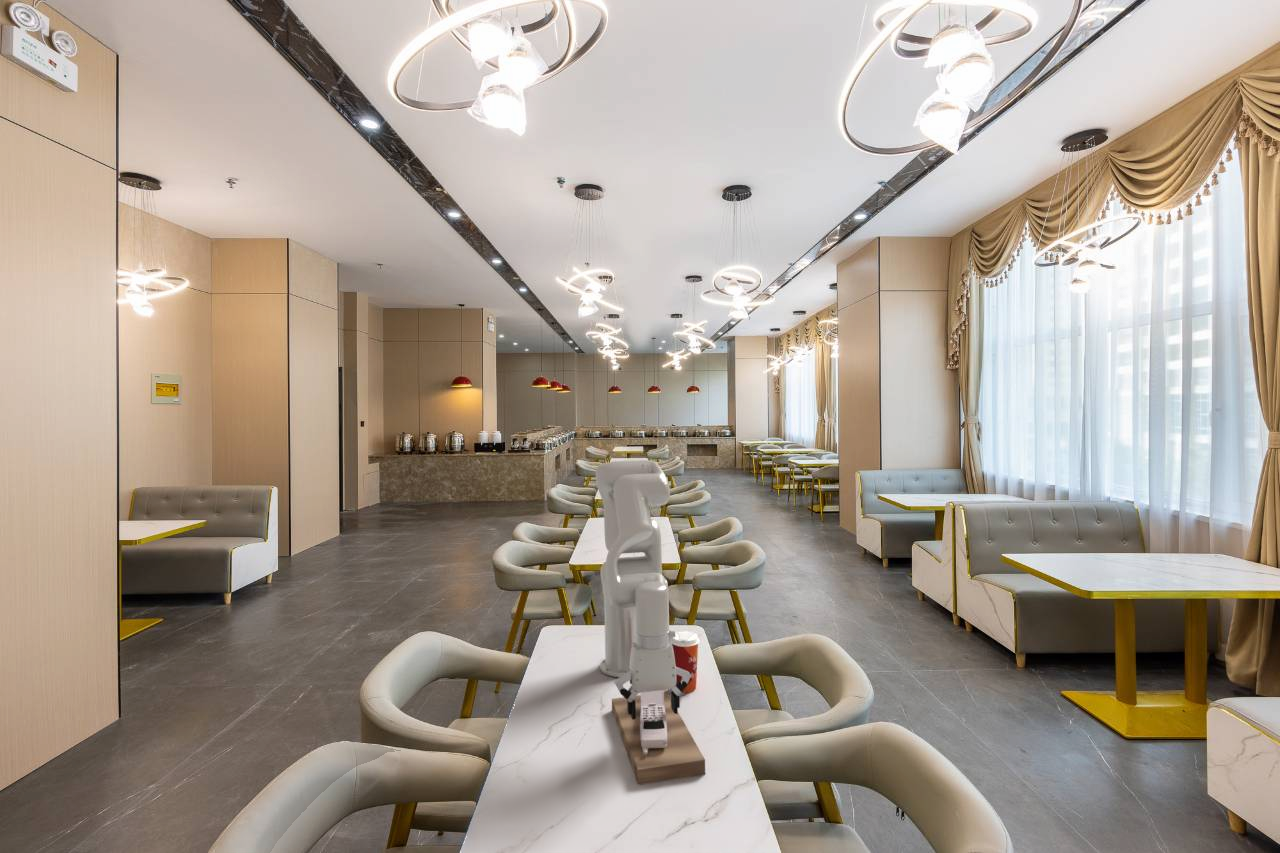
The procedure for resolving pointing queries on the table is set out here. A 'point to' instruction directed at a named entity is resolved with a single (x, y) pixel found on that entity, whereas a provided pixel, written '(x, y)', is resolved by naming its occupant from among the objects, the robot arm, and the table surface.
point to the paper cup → (686, 656)
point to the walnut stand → (658, 762)
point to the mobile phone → (653, 721)
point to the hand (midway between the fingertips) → (653, 713)
